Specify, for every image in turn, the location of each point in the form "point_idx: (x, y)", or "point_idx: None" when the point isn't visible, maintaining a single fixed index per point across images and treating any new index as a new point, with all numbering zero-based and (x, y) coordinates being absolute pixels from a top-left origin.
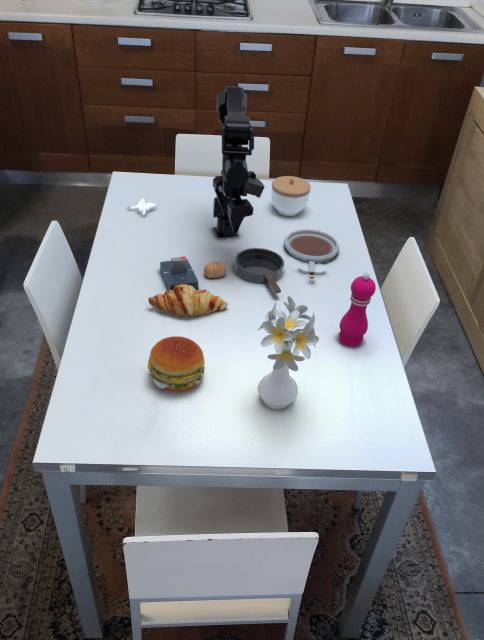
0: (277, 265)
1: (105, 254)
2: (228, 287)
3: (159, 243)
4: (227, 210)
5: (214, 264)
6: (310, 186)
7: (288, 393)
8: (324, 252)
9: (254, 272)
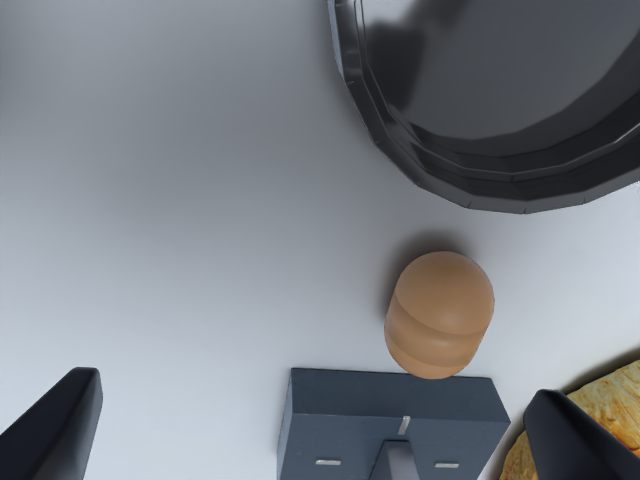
0: None
1: None
2: (553, 258)
3: (20, 408)
4: (56, 466)
5: (460, 357)
6: None
7: None
8: None
9: (544, 44)
